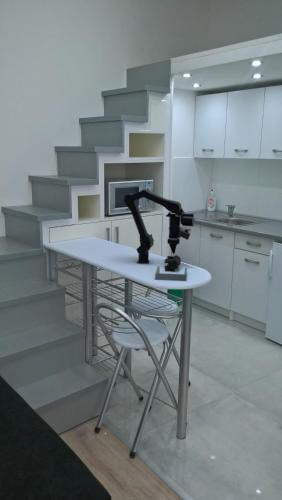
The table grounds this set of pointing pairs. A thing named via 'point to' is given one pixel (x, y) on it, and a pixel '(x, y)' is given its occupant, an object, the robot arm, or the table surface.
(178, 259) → the end cap
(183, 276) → the bay
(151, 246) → the robot arm
